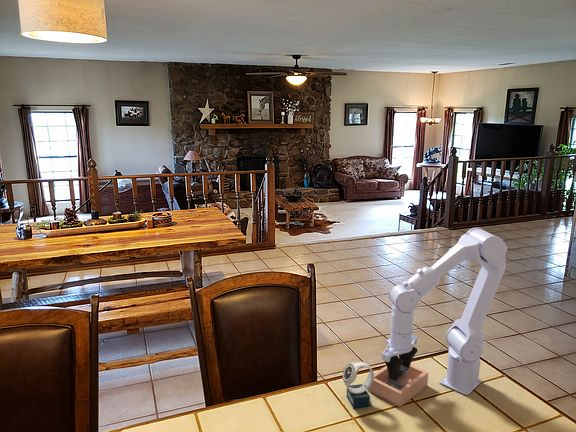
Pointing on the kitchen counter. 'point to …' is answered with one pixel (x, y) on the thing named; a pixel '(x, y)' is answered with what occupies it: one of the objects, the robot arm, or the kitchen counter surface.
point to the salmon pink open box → (400, 397)
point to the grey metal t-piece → (400, 378)
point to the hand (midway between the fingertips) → (398, 375)
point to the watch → (357, 392)
